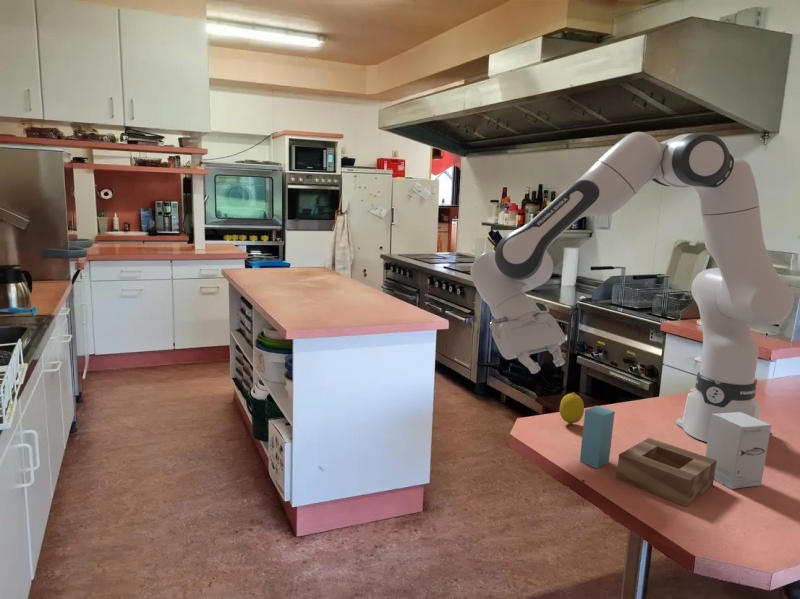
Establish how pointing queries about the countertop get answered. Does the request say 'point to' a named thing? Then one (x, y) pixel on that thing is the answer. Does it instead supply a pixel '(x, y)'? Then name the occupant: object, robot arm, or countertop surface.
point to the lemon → (571, 408)
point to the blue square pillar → (597, 436)
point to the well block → (666, 471)
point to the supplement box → (738, 448)
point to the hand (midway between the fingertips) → (549, 368)
